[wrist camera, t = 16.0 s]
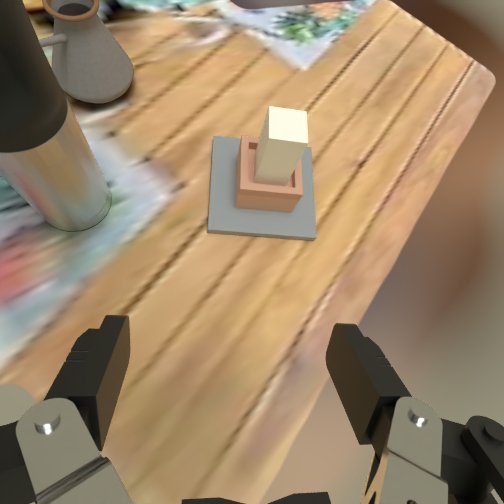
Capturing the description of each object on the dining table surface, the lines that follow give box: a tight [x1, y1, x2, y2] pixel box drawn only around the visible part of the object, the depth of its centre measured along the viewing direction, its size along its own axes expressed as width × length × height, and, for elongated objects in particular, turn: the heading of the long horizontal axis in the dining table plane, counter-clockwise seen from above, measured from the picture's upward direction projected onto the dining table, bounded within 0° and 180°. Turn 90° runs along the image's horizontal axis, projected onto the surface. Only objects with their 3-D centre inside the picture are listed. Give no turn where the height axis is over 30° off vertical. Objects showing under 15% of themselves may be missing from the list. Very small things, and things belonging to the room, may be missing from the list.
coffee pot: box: [39, 0, 133, 103], centre depth 43 cm, size 21×12×15 cm, turn 154°
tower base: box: [208, 135, 316, 241], centre depth 47 cm, size 16×16×7 cm
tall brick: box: [254, 106, 308, 187], centre depth 41 cm, size 4×4×10 cm
